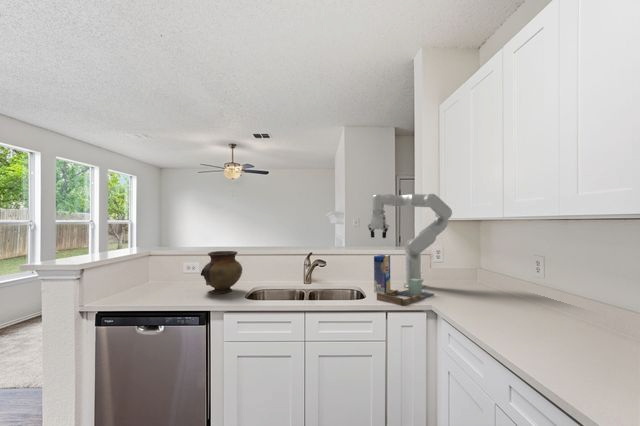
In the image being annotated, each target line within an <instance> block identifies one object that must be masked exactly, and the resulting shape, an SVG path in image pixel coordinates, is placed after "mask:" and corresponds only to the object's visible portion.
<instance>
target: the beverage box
mask: <svg viewBox="0 0 640 426" xmlns="http://www.w3.org/2000/svg"><path fill="white" fill-rule="evenodd" d="M373 275H374V277H373V289H374V290H373V292H374V293H376V294H377V293H380V294H383V293H387V292H391V255H390V254H378V255H374V256H373Z"/></svg>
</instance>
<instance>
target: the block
mask: <svg viewBox="0 0 640 426" xmlns="http://www.w3.org/2000/svg"><path fill="white" fill-rule="evenodd" d="M421 279H422V278H421ZM421 279H415V278H414V279H410V280H409V288H408V290H409V293H410V294H415V295H417V294H420V293H422V292H423V291H422V289H423V288H422V285H423V282H422V280H421Z"/></svg>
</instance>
